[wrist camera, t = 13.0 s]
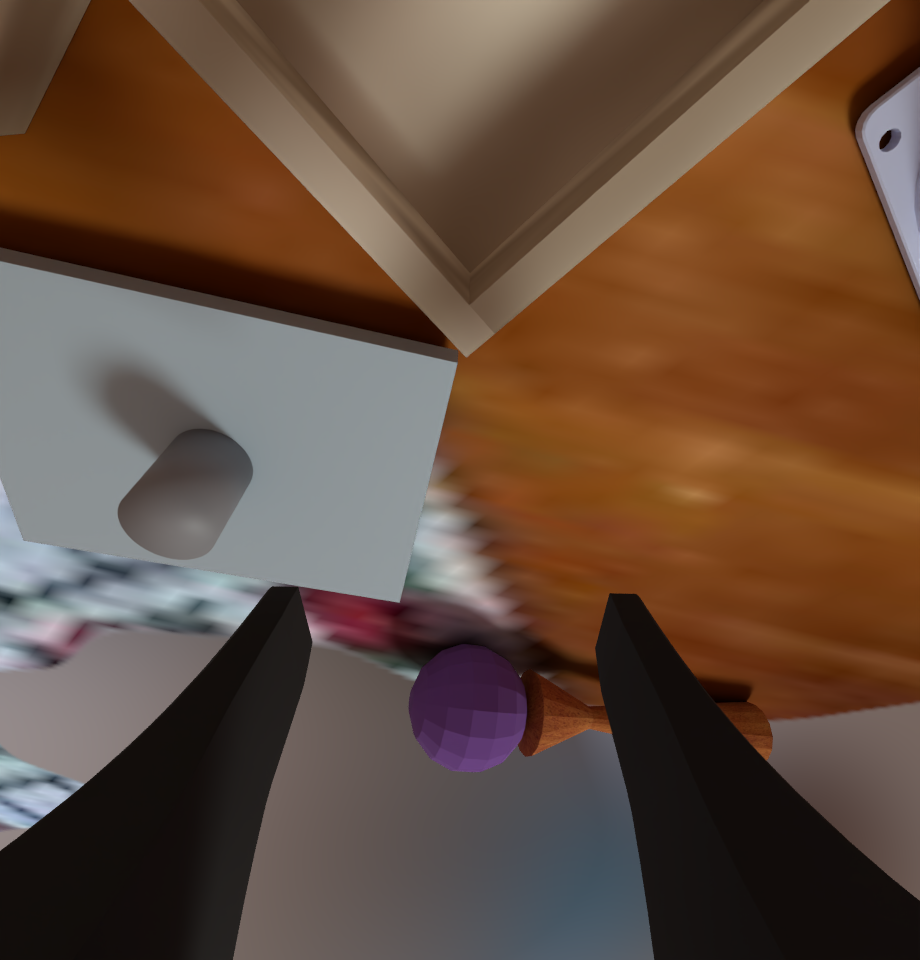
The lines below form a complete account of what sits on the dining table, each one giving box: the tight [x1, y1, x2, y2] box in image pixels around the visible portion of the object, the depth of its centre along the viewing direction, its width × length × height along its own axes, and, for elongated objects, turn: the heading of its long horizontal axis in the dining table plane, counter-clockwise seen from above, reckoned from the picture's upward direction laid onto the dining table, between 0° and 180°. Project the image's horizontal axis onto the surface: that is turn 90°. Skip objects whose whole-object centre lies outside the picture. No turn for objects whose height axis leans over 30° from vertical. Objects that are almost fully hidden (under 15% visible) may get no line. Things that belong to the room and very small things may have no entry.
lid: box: [0, 248, 458, 603], centre depth 19 cm, size 16×12×6 cm
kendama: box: [409, 644, 773, 772], centre depth 28 cm, size 6×6×20 cm
